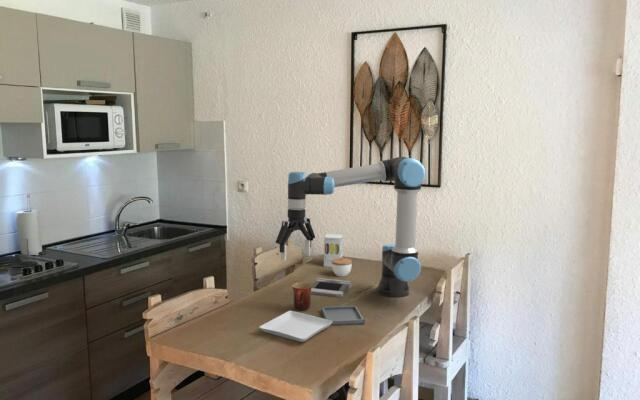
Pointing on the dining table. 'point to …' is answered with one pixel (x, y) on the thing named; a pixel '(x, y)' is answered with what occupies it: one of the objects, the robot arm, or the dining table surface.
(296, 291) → the mug
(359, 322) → the rest tray
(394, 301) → the dining table surface
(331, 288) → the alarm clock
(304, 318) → the salad plate
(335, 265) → the lidded jar
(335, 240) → the supplement box
